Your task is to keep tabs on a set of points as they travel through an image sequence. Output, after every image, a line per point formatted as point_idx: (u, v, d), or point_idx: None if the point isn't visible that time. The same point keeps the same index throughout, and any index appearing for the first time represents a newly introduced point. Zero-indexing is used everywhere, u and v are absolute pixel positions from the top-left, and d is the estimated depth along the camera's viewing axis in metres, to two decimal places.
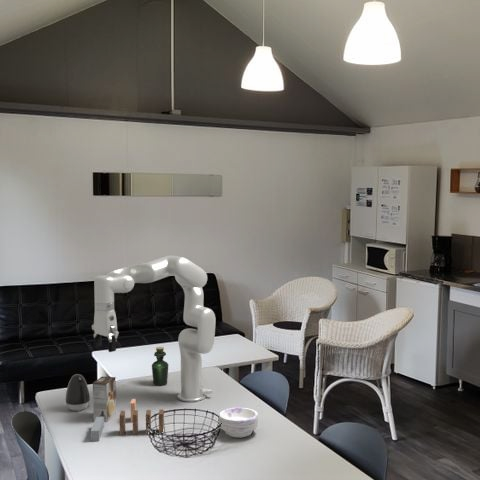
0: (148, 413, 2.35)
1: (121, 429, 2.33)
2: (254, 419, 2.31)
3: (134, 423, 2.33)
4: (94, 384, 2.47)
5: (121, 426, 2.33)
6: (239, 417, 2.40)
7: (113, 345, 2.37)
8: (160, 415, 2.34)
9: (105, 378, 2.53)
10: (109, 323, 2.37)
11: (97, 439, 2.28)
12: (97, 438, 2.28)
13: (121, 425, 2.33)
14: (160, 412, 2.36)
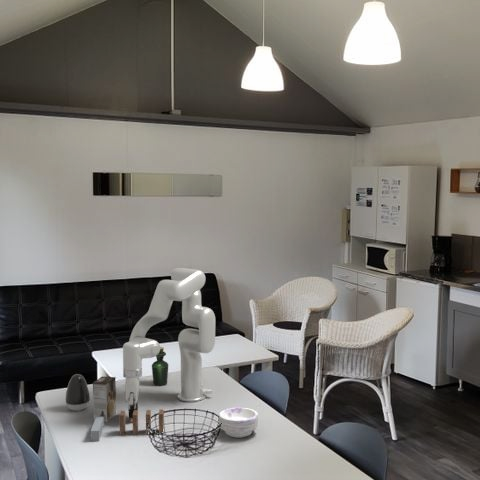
0: (148, 413, 2.35)
1: (121, 429, 2.33)
2: (254, 419, 2.31)
3: (134, 423, 2.33)
4: (94, 384, 2.47)
5: (121, 426, 2.33)
6: (239, 417, 2.40)
7: None
8: (160, 415, 2.34)
9: (105, 378, 2.53)
10: None
11: (97, 439, 2.28)
12: (97, 438, 2.28)
13: (121, 425, 2.33)
14: (160, 412, 2.36)
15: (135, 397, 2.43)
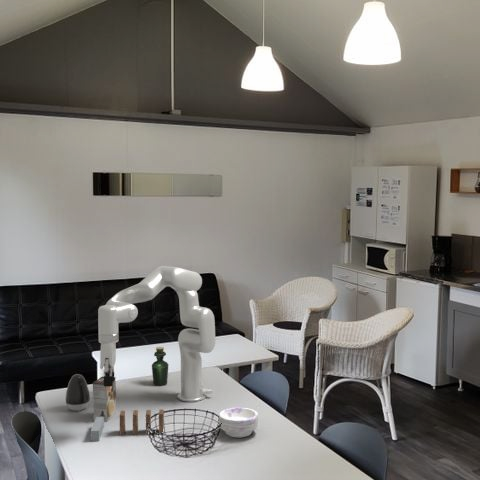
0: (148, 413, 2.35)
1: (121, 429, 2.33)
2: (254, 419, 2.31)
3: (134, 423, 2.33)
4: (94, 384, 2.47)
5: (121, 426, 2.33)
6: (239, 417, 2.40)
7: None
8: (160, 415, 2.34)
9: None
10: None
11: (97, 439, 2.28)
12: (97, 438, 2.28)
13: (121, 425, 2.33)
14: (160, 412, 2.36)
15: (111, 363, 2.29)
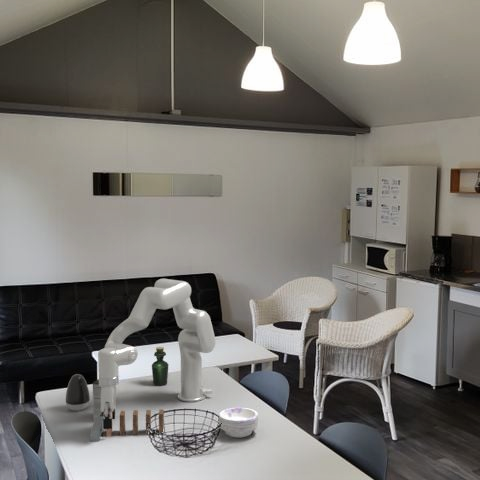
0: (148, 413, 2.35)
1: (121, 429, 2.33)
2: (254, 419, 2.31)
3: (134, 423, 2.33)
4: (94, 384, 2.47)
5: (121, 426, 2.33)
6: (239, 417, 2.40)
7: None
8: (160, 415, 2.34)
9: None
10: None
11: (97, 439, 2.28)
12: (97, 438, 2.28)
13: (121, 425, 2.33)
14: (160, 412, 2.36)
15: (111, 404, 2.30)
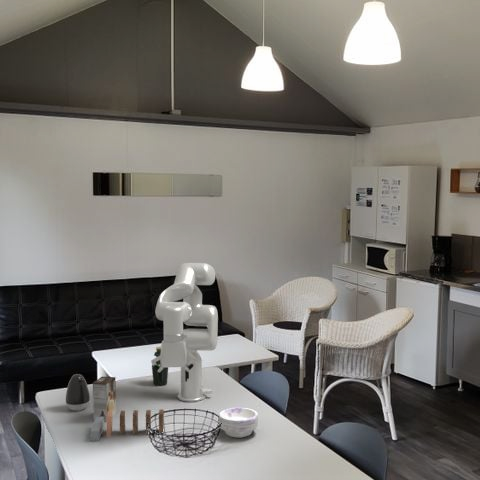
0: (148, 413, 2.35)
1: (121, 429, 2.33)
2: (254, 419, 2.31)
3: (134, 423, 2.33)
4: (94, 384, 2.47)
5: (121, 426, 2.33)
6: (239, 417, 2.40)
7: (188, 374, 2.36)
8: (160, 415, 2.34)
9: (105, 378, 2.53)
10: (186, 352, 2.34)
11: (97, 439, 2.28)
12: (97, 438, 2.28)
13: (121, 425, 2.33)
14: (160, 412, 2.36)
15: (160, 358, 2.33)
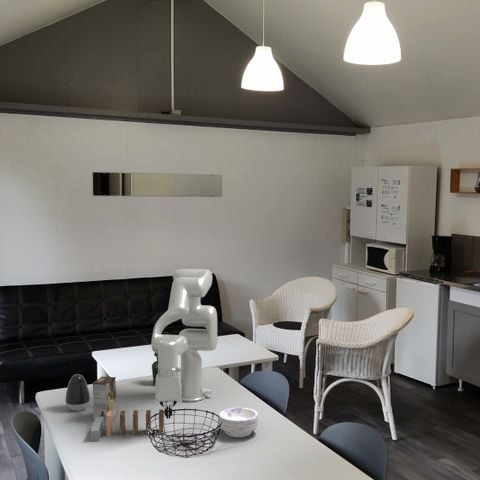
0: (148, 413, 2.35)
1: (121, 429, 2.33)
2: (254, 419, 2.31)
3: (134, 423, 2.33)
4: (94, 384, 2.47)
5: (121, 426, 2.33)
6: (239, 417, 2.40)
7: None
8: (160, 415, 2.34)
9: (105, 378, 2.53)
10: (180, 386, 2.35)
11: (97, 439, 2.28)
12: (97, 438, 2.28)
13: (121, 425, 2.33)
14: (160, 412, 2.36)
15: None
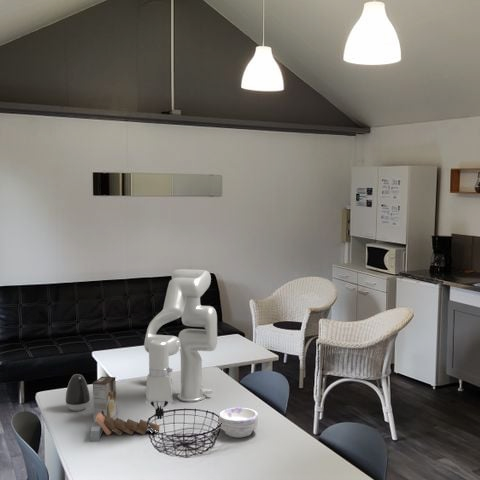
0: (126, 423, 2.34)
1: (115, 430, 2.33)
2: (254, 419, 2.31)
3: (122, 428, 2.33)
4: (94, 384, 2.47)
5: (113, 428, 2.33)
6: (239, 417, 2.40)
7: None
8: (140, 426, 2.34)
9: (105, 378, 2.53)
10: (171, 387, 2.35)
11: (97, 439, 2.28)
12: (97, 438, 2.28)
13: (112, 427, 2.33)
14: None
15: None
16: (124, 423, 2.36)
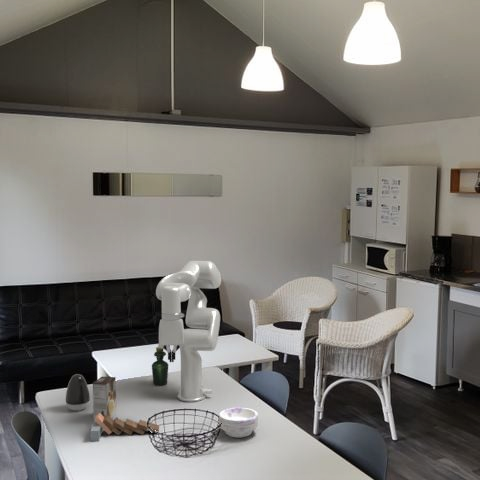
0: (125, 423, 2.34)
1: (114, 430, 2.33)
2: (254, 419, 2.31)
3: (121, 428, 2.33)
4: (94, 384, 2.47)
5: (112, 428, 2.33)
6: (239, 417, 2.40)
7: None
8: (139, 427, 2.34)
9: (105, 378, 2.53)
10: (183, 331, 2.44)
11: (97, 439, 2.28)
12: (97, 438, 2.28)
13: (111, 427, 2.33)
14: (138, 425, 2.35)
15: None
16: (123, 423, 2.36)
